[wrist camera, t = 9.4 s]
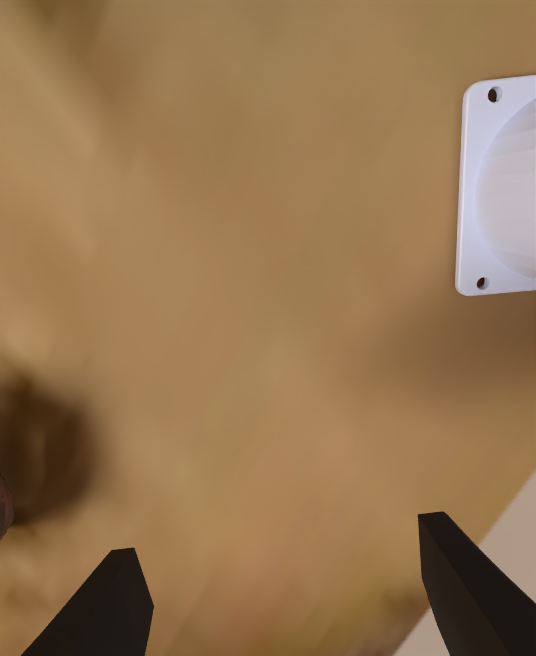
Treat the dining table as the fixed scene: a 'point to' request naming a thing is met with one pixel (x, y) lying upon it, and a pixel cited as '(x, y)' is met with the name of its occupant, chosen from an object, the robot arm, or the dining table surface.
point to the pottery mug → (5, 508)
